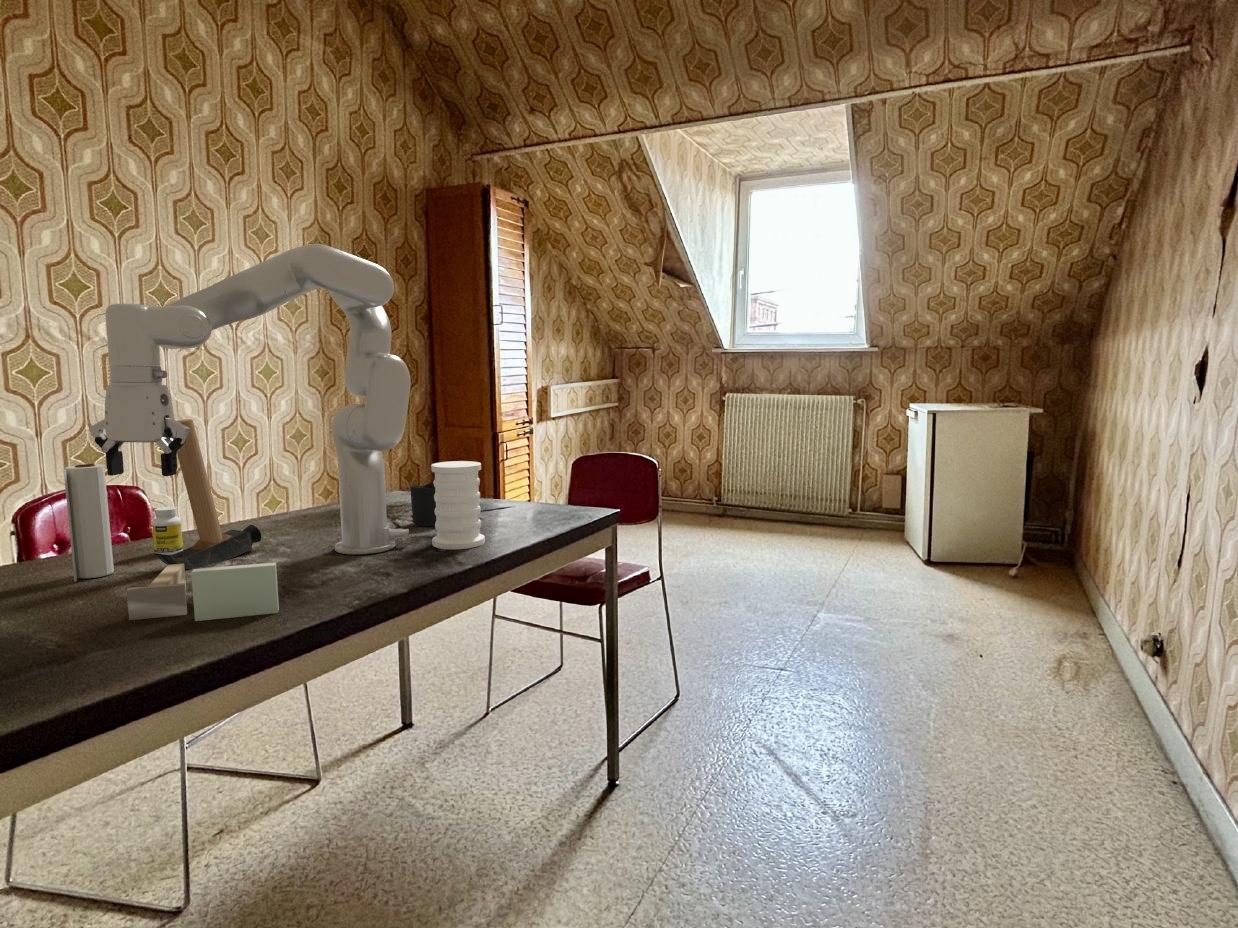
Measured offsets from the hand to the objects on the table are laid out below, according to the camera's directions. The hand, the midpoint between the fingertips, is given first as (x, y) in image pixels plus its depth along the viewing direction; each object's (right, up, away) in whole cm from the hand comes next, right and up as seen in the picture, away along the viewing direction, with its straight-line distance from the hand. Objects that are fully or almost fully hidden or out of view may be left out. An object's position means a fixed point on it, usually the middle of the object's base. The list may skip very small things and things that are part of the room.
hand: (142, 475), depth 133 cm
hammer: (0, -18, +24) cm, 30 cm away
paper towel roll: (-18, -20, +13) cm, 29 cm away
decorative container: (+48, -16, +38) cm, 63 cm away
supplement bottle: (-13, -17, +30) cm, 37 cm away
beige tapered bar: (+7, -22, -4) cm, 23 cm away
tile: (+22, -23, -10) cm, 33 cm away
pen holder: (+36, -13, +59) cm, 71 cm away
